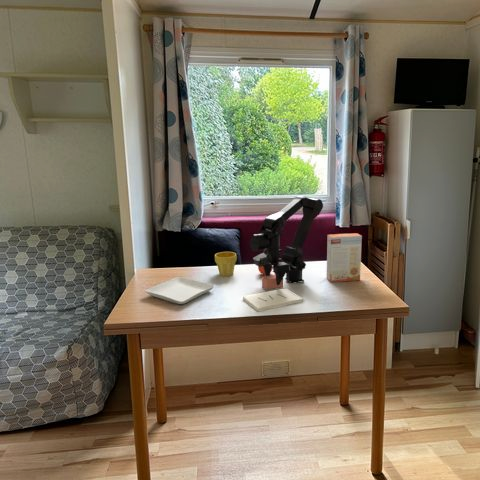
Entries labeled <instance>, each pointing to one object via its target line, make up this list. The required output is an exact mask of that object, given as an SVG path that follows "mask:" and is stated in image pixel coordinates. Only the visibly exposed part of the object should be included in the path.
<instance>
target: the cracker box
mask: <svg viewBox="0 0 480 480" xmlns="http://www.w3.org/2000/svg"><path fill="white" fill-rule="evenodd" d="M362 239H363V235H361V234H359V233H358V232H357V233H355V232H354V233H335V234H327V243H326V244H327V245H326V250H327V251H326V279H327V280H328V281H329V283H335V282H336V283H337V282H338V283H339V282H340V283H341V282H355V281H356V282H357V281H360V280H361V269H362V268H361V267H362V264H361V263H362Z"/></svg>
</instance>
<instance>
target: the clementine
mask: <svg viewBox="0 0 480 480" xmlns="http://www.w3.org/2000/svg"><path fill="white" fill-rule="evenodd" d="M257 270H258V271H259V273H260V274H261V275H265V272H264V269H263V266H262V267H258V266H257ZM271 272H273V265H272V269H271Z"/></svg>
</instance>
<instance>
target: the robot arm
mask: <svg viewBox="0 0 480 480" xmlns="http://www.w3.org/2000/svg"><path fill="white" fill-rule="evenodd" d="M323 208H324V203H323V201H322V200H321V199H319V198H312V197H307V196H301V195H297V196H295V197H294V199H293V200H291V201H290V202H289V203H288V204H286V206H284V207H283V208H282V209H280V211H278V212H276V213H273V214H270V215H269V216H266V217H265V218H264V220H263V223H262V224H261V227H260V229H259V231H258V233H257V234H256V233H255V234H253V235H252V238H250V241H249V246H250V249H251V250H252V251H253V252H258V251H262V253H260V254H258V255H256V256H254V257H253V258H252V259H253V261H254V262H253V263H254V265H255V266H256V267H257V268H258V267H262V266H263V269H264V272H265V274H264V275H265V276H269V275H271V273H272V272H273V273H274V275H276V283H277V285H280V283H281V281H282V279H283V280H285V281H288V283H290V284H296V283H301V282H302V283H303V282H305V280H304V279H303V271H304V269H306V266H307V264H306V262H305V261H304V260H303V256H304V255H303V247H304V245H305V242H306V239H307V238H308V235H309V231H310V229H311V227H312V224H313V221H314V220H315V219H316V218H317V217H318V216H319V215H320V214H321V212H322V211H323ZM301 209H302V218H301V219H300V222H299V225H298V227H297V230H296V232H295V235H294V237H293V240H292V243H291V244H290V245H289V246H285V247H284V249H283V252H282V249H280V237H282V236H284V233H283V232H282V230H283V228H284V227H285V225H286V223H287V221H288V220H289V219H290V218H291V217H292V216H294V215H295V214H296V213H297V212H298V211H300V210H301ZM280 253H281V255H282V256H281V258H280ZM272 266H273V269H272ZM271 269H272V271H271ZM284 277H285V278H284Z"/></svg>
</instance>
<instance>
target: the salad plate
mask: <svg viewBox="0 0 480 480" xmlns="http://www.w3.org/2000/svg"><path fill="white" fill-rule="evenodd" d="M214 287H215V285H214V284H211V283H207V282H203V281H199V280H195V279H190V278H187V277H183V276H178V277H175V278H172V279H169V280H167V281H164V282H162V283H159V284H157V285H154V286H151V287H149V288H148V289H145V290H144V292H145V293H146V294H147V295H149V296H152V297H155V298H158V299H161V300H163V301H167V302H171V303H173V304H174V303H175V304H178V305H184V304H186V303H188V302H190V301H193V300H194V299H196V298H198V297H200V296H202V295H203V294H205V293H209V292H210V291H212V290H213V289H214Z"/></svg>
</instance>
